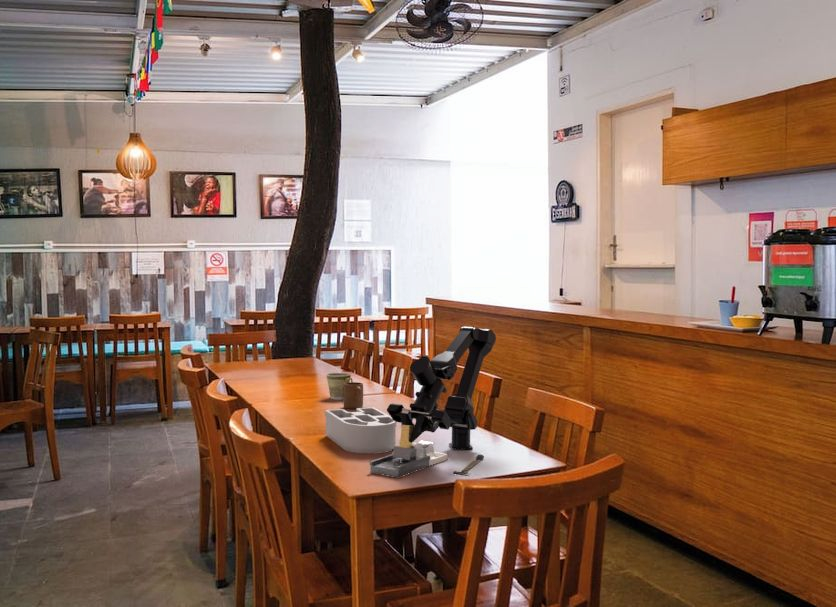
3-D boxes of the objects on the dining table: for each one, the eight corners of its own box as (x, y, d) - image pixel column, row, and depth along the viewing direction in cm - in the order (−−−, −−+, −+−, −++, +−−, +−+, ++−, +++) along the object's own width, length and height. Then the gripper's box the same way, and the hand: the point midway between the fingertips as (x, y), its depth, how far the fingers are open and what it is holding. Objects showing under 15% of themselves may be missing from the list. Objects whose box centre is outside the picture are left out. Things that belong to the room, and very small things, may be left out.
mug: (369, 410, 300) (369, 386, 299) (350, 411, 297) (350, 387, 296) (359, 405, 311) (359, 381, 310) (340, 406, 308) (341, 382, 308)
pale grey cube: (410, 455, 222) (410, 441, 222) (422, 457, 220) (422, 443, 220) (402, 458, 219) (402, 444, 219) (414, 460, 217) (414, 446, 216)
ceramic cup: (321, 398, 326) (321, 374, 325) (338, 395, 333) (339, 372, 333) (343, 402, 317) (343, 377, 317) (360, 399, 325) (360, 375, 324)
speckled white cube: (415, 459, 225) (422, 453, 228) (427, 461, 222) (434, 455, 226) (413, 446, 223) (421, 440, 227) (425, 448, 221) (432, 442, 225)
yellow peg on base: (398, 456, 219) (402, 424, 220) (415, 459, 216) (419, 426, 217) (392, 457, 216) (396, 424, 217) (409, 460, 213) (413, 426, 214)
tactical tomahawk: (475, 481, 209) (476, 477, 208) (452, 475, 211) (452, 471, 211) (498, 461, 228) (499, 458, 228) (477, 457, 230) (477, 453, 230)
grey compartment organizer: (373, 433, 261) (373, 407, 261) (403, 452, 236) (404, 423, 235) (324, 436, 255) (325, 410, 255) (350, 456, 229) (351, 427, 229)
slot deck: (401, 461, 224) (401, 450, 223) (429, 466, 218) (430, 455, 218) (369, 472, 211) (369, 461, 211) (399, 478, 206) (399, 467, 206)
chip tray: (421, 454, 232) (421, 449, 232) (447, 459, 227) (447, 454, 227) (402, 461, 224) (402, 456, 223) (429, 466, 219) (429, 461, 219)
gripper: (466, 416, 225) (446, 462, 217) (412, 408, 235) (390, 452, 227) (453, 392, 218) (431, 439, 210) (397, 385, 228) (374, 430, 220)
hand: (406, 441), depth 217 cm, fingers closed on yellow peg on base, 2 cm apart
